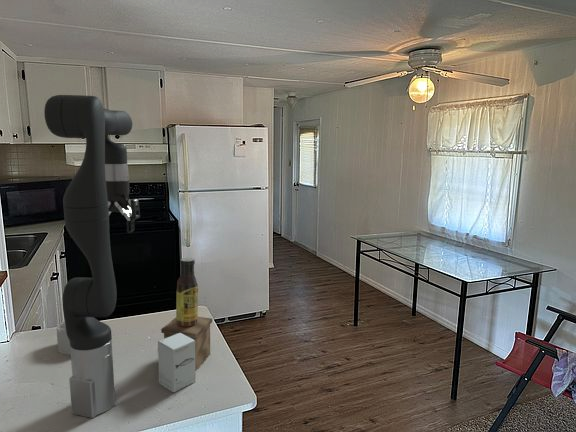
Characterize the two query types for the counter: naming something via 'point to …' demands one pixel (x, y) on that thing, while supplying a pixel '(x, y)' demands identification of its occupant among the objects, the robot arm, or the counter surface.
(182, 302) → the sauce bottle
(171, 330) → the brown wooden box
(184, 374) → the supplement box
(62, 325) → the lumpy-topped squat cylinder
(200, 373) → the counter surface
